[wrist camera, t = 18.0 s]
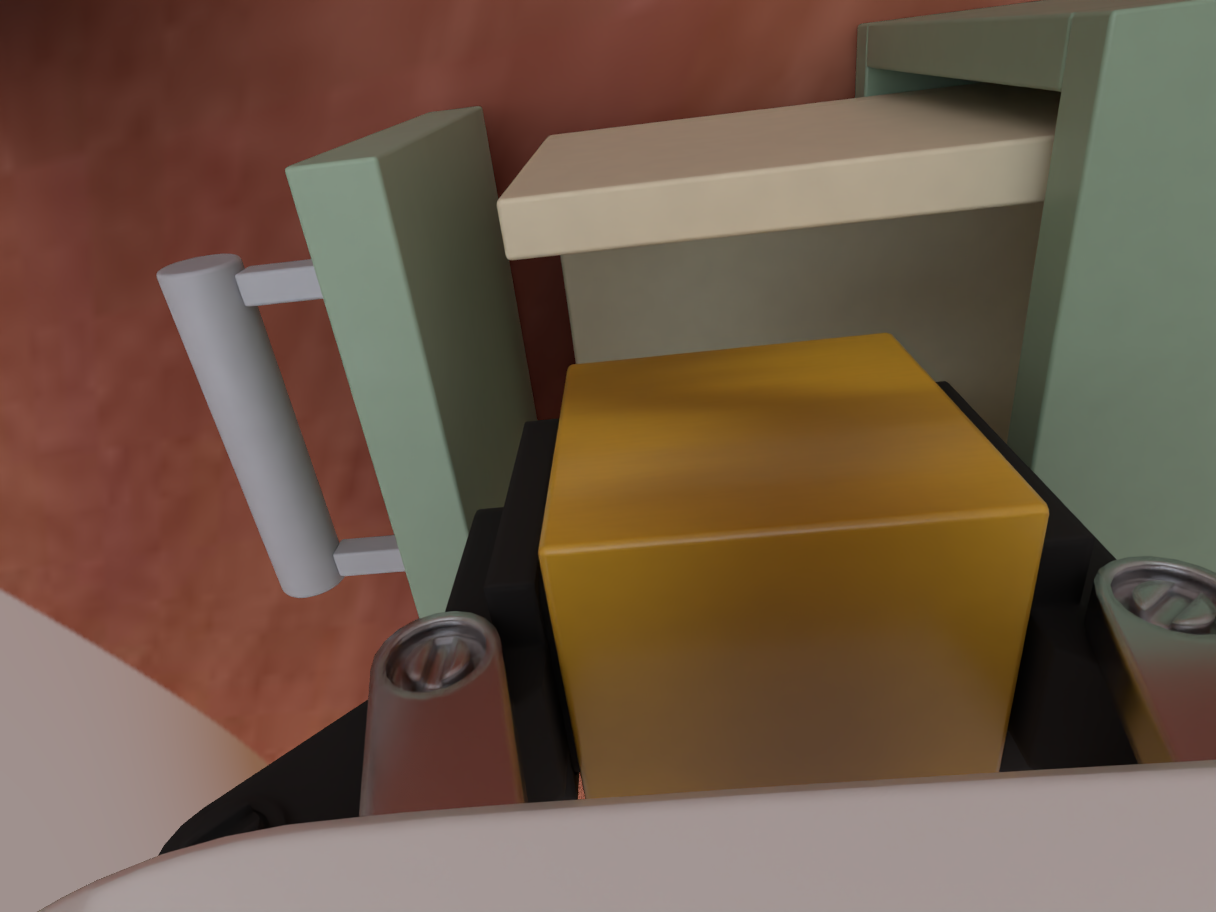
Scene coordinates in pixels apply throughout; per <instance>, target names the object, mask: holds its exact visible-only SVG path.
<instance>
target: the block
mask: <svg viewBox="0 0 1216 912" xmlns="http://www.w3.org/2000/svg"><path fill="white" fill-rule="evenodd" d="M1048 518H1049V509H1048V506H1047V504H1046V502H1045V501H1044V500H1043V499H1042V498H1041V497H1040V496H1039V495H1038V494H1037V493H1036V492H1035V490H1034V489H1033V488H1032V487H1031V486H1030V485H1029V484H1028V483H1027V482H1026V481H1025V480H1024V478H1023V477H1022V476H1021V475H1020V474H1019V473H1018V472H1017V471H1016V470H1015V469H1014V468H1013V466H1012V465H1011V464H1010V463H1009V462H1008V461H1007V460H1006V459H1005V458H1004V457H1003V456H1002V454H1001V453H1000V452H999V451H998V450H997V449H996V448H995V447H994V446H993V445H992V444H991V442H990V441H989V440H988V439H987V438H986V437H985V436H984V435H983V434H982V433H981V431H980V430H979V429H978V428H977V427H976V426H975V425H974V424H973V423H972V422H971V421H970V419H969V418H968V417H967V416H966V415H965V414H964V413H963V412H962V411H961V410H960V409H959V407H958V406H957V405H956V404H955V403H954V402H953V401H952V400H951V399H950V398H949V397H948V395H947V394H946V393H945V392H944V391H943V390H942V389H941V388H940V387H939V386H938V385H937V383H936V382H935V381H934V380H933V379H932V378H931V377H930V376H929V375H928V374H927V373H926V371H925V370H924V369H923V368H922V367H921V366H920V365H919V364H918V363H917V362H916V361H915V359H914V358H913V357H912V356H911V355H910V354H909V353H908V352H907V351H906V350H905V348H904V347H903V346H902V345H901V344H900V343H899V342H898V341H897V340H896V339H895V338H894V336H893V335H892V334H889V333H878V334H868V335H859V336H849V337H839V338H829V339H819V340H809V341H800V342H790V343H780V344H770V345H760V346H750V347H741V348H731V349H721V350H711V351H701V352H691V353H682V354H672V355H662V356H652V357H642V358H632V359H623V360H613V361H603V362H593V363H583V364H573V365H571V366H569V367H568V370H567V374H566V381H565V387H564V393H563V399H562V405H561V412H560V418H559V424H558V430H557V437H556V443H555V449H554V455H553V461H552V468H551V474H550V480H549V486H548V493H547V499H546V505H545V511H544V517H543V524H542V530H541V536H540V542H539V548H538V557H539V563H540V568H541V573H542V578H543V583H544V588H545V593H546V599H547V604H548V609H549V614H550V619H551V624H552V629H553V635H554V640H555V645H556V650H557V655H558V660H559V666H560V671H561V676H562V681H563V686H564V691H565V696H566V702H567V707H568V712H569V717H570V722H571V727H572V732H573V738H574V743H575V748H576V753H577V758H578V763H579V769H580V774H581V779H582V784H583V789H584V794H585V799H594V798H609V797H623V796H638V795H653V794H667V793H682V792H697V791H711V790H726V789H741V788H757V787H772V786H788V785H804V784H820V783H835V782H851V781H867V780H883V779H899V778H915V777H931V776H948V775H964V774H980V773H996V772H999V770H1000V764H1001V759H1002V754H1003V749H1004V744H1005V739H1006V734H1007V728H1008V723H1009V718H1010V713H1011V708H1012V703H1013V698H1014V693H1015V687H1016V682H1017V677H1018V672H1019V667H1020V662H1021V657H1022V651H1023V646H1024V641H1025V636H1026V631H1027V626H1028V621H1029V615H1030V610H1031V605H1032V600H1033V595H1034V590H1035V585H1036V579H1037V574H1038V569H1039V564H1040V559H1041V554H1042V549H1043V543H1044V538H1045V533H1046V528H1047V523H1048Z"/></svg>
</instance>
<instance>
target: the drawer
mask: <svg viewBox="0 0 1216 912" xmlns="http://www.w3.org/2000/svg"><path fill="white" fill-rule="evenodd" d="M1060 97H1061V92H1059V91H1051V90H1043V89H1035V88H1027V87H1019V86H1011V85H1003V84H995V83H987V82H983V83H975V84H967V85H959V86H950V87H942V88H934V89H926V90H917V91H909V92H901V93H893V94H885V95H876V96H868V97H860V98H852V99H844V100H835V101H827V102H819V103H811V104H803V105H794V106H786V107H778V108H770V109H761V110H753V111H745V112H737V113H729V114H720V115H712V116H704V117H696V118H688V119H679V120H671V121H663V122H655V123H646V124H638V125H630V126H622V127H614V128H605V129H597V130H589V131H581V132H573V133H564V134H556V135H550V136H548V137H547V139H546V140H545V141H544V142H543V143H542V144H541V146H540V147H539V148H538V149H537V151H536V152H535V153H534V155H533V156H532V157H531V158H530V160H529V161H528V162H527V164H526V165H525V166H524V167H523V169H522V170H521V171H520V172H519V174H518V175H517V176H516V178H515V179H514V180H513V181H512V183H511V184H510V185H509V186H508V188H507V189H506V190H505V192H504V193H503V194H502V195H501V197H500V198H499V199H498V195H497V189H496V183H495V178H494V172H493V166H492V161H491V155H490V149H489V144H488V138H487V132H486V127H485V121H484V115H483V110H482V107H480V106H476V107H468V108H460V109H452V110H444V111H436V112H429V113H426V114H424V115H421V116H418V117H416V118H413V119H410V120H408V121H405V122H403V123H400V124H397V125H395V126H392V127H390V128H387V129H384V130H382V131H379V132H377V133H374V134H371V135H369V136H366V137H363V138H361V139H358V140H356V141H353V142H350V143H348V144H345V145H343V146H340V147H337V148H335V149H332V150H330V151H327V152H324V153H322V154H319V155H317V156H314V157H311V158H309V159H306V160H303V161H301V162H298V163H296V164H293V165H290V166H288V167H287V168H286V169H285V173H286V176H287V180H288V183H289V186H290V189H291V193H292V196H293V199H294V203H295V206H296V209H297V213H298V216H299V219H300V223H301V226H302V229H303V233H304V236H305V239H306V243H307V246H308V249H309V253H310V256H311V259H309V260H301V261H292V262H283V263H274V264H265V265H256V266H249V267H247V268H246V269H245V268H244V265H243V262H242V259H241V258H240V257H239V256H238V255H235V254H214V255H207V256H201V257H196V258H191V259H187V260H183V261H180V262H177V263H174V264H171V265H168V266H166V267H164V268H162V269H161V270H159V271H158V272H157V279H158V282H159V284H160V287H161V289H162V292H163V294H164V297H165V299H166V302H167V304H168V307H169V309H170V312H171V314H172V317H173V319H174V322H175V324H176V327H177V329H178V331H179V334H180V336H181V339H182V341H183V344H184V346H185V349H186V351H187V354H188V356H189V359H190V361H191V364H192V366H193V369H194V371H195V374H196V376H197V379H198V381H199V384H200V386H201V389H202V391H203V394H204V396H205V398H206V401H207V403H208V406H209V408H210V411H211V413H212V416H213V418H214V421H215V423H216V426H217V428H218V431H219V433H220V436H221V438H222V441H223V443H224V446H225V448H226V451H227V453H228V456H229V458H230V461H231V463H232V465H233V468H234V470H235V473H236V475H237V478H238V480H239V483H240V485H241V488H242V490H243V493H244V495H245V498H246V500H247V503H248V505H249V508H250V510H251V513H252V515H253V518H254V520H255V523H256V525H257V528H258V530H259V533H260V535H261V537H262V540H263V542H264V545H265V547H266V550H267V552H268V555H269V557H270V560H271V562H272V565H273V567H274V570H275V572H276V575H277V577H278V580H279V582H280V585H281V587H282V589H283V591H284V592H285V593H286V594H287V595H289V596H291V597H296V598H306V597H312V596H316V595H319V594H322V593H324V592H326V591H328V590H330V589H332V588H333V587H335V586H336V585H337V584H339V583H340V582H341V581H342V580H343V578H344V577H345V576H353V575H365V574H378V573H390V572H402V571H405V572H406V575H407V578H408V582H409V585H410V588H411V592H412V595H413V598H414V602H415V605H416V608H417V612H418V615H419V618H423V617H426V616H429V615H432V614H435V613H442V612H445V610H446V607H447V603H448V600H449V597H450V594H451V590H452V587H453V584H454V580H455V577H456V574H457V571H458V567H459V564H460V561H461V558H462V554H463V551H464V548H465V545H466V541H467V538H468V535H469V531H470V528H471V525H472V522H473V518H474V516H475V513H476V511H477V510H479V509H487V508H498V507H504V504H505V500H506V496H507V492H508V488H509V484H510V480H511V476H512V472H513V468H514V464H515V460H516V456H517V452H518V448H519V444H520V440H521V436H522V432H523V428H524V424H525V422H527V421H537V415H536V410H535V404H534V398H533V393H532V387H531V381H530V376H529V370H528V364H527V359H526V353H525V347H524V342H523V336H522V330H521V325H520V319H519V313H518V308H517V302H516V296H515V291H514V285H513V279H512V274H511V268H510V262H509V260H521V259H530V258H539V257H548V256H557V255H560V257H561V264H562V271H563V278H564V285H565V292H566V298H567V305H568V312H569V319H570V326H571V333H572V340H573V347H574V354H575V361H576V364H583V363H593V362H603V361H613V360H623V359H632V358H642V357H652V356H662V355H672V354H682V353H691V352H701V351H711V350H721V349H731V348H741V347H750V346H760V345H770V344H780V343H790V342H800V341H809V340H819V339H829V338H839V337H849V336H859V335H868V334H878V333H889V334H892V335H893V336H894V338H895V339H896V340H897V341H898V342H899V343H900V344H901V345H902V346H903V347H904V348H905V350H906V351H907V352H908V353H909V354H910V355H911V356H912V357H913V358H914V359H915V361H916V362H917V363H918V364H919V365H920V366H921V367H922V368H923V369H924V370H925V371H926V373H927V374H928V375H929V376H930V377H931V378H932V379H933V380H934V381H935V382H940V381H946V382H948V383H949V384H950V385H951V386H952V387H953V388H954V389H955V390H956V391H957V392H958V393H959V394H960V395H961V397H962V398H963V399H964V400H965V401H966V402H967V403H968V404H969V405H970V406H971V407H972V408H973V409H974V410H975V411H976V412H977V413H978V414H979V416H980V417H981V418H982V419H983V420H984V421H985V422H986V423H987V424H988V425H989V426H990V427H991V428H992V429H993V430H994V431H995V432H996V433H997V435H998V436H999V437H1000V438H1001V439H1002V440H1003V441H1004V442H1005V443H1006V444H1007V439H1008V432H1009V426H1010V419H1011V413H1012V407H1013V400H1014V394H1015V387H1016V381H1017V374H1018V368H1019V361H1020V355H1021V348H1022V342H1023V336H1024V329H1025V323H1026V316H1027V310H1028V303H1029V297H1030V290H1031V284H1032V277H1033V271H1034V265H1035V258H1036V252H1037V245H1038V239H1039V232H1040V226H1041V219H1042V213H1043V206H1044V200H1045V194H1046V187H1047V181H1048V174H1049V168H1050V161H1051V155H1052V148H1053V142H1054V135H1055V129H1056V123H1057V116H1058V110H1059V103H1060ZM315 299H324V302H325V306H326V309H327V312H328V316H329V319H330V322H331V326H332V329H333V332H334V336H335V339H336V342H337V346H338V349H339V352H340V356H341V359H342V362H343V366H344V369H345V372H346V376H347V379H348V382H349V386H350V389H351V392H352V396H353V399H354V402H355V406H356V409H357V412H358V415H359V419H360V422H361V425H362V429H363V432H364V435H365V439H366V442H367V445H368V449H369V452H370V455H371V459H372V462H373V465H374V469H375V472H376V475H377V479H378V482H379V485H380V489H381V492H382V495H383V499H384V502H385V505H386V509H387V512H388V515H389V519H390V522H391V525H392V528H393V532H394V535H390V536H378V537H366V538H354V539H343V540H341V542H340V543H339V540H338V537H337V535H336V532H335V529H334V526H333V523H332V520H331V517H330V514H329V511H328V509H327V506H326V503H325V500H324V497H323V494H322V491H321V488H320V485H319V482H318V480H317V477H316V474H315V471H314V468H313V465H312V462H311V459H310V456H309V453H308V451H307V448H306V445H305V442H304V439H303V436H302V433H301V430H300V427H299V424H298V422H297V419H296V416H295V413H294V410H293V407H292V404H291V401H290V398H289V395H288V393H287V390H286V387H285V384H284V381H283V378H282V375H281V372H280V369H279V366H278V364H277V361H276V358H275V355H274V352H273V349H272V346H271V343H270V340H269V337H268V335H267V332H266V329H265V326H264V323H263V320H262V317H261V314H260V311H259V308H258V306H260V305H269V304H278V303H287V302H297V301H306V300H315Z"/></svg>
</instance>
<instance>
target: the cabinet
mask: <svg viewBox="0 0 1216 912" xmlns="http://www.w3.org/2000/svg"><path fill="white" fill-rule="evenodd" d="M983 82H987V83H995V84H1003V85H1011V86H1019V87H1027V88H1035V89H1043V90H1051V91H1059V92H1061V97H1060V103H1059V110H1058V116H1057V123H1056V129H1055V135H1054V142H1053V148H1052V155H1051V161H1050V168H1049V174H1048V181H1047V187H1046V194H1045V200H1044V206H1043V213H1042V219H1041V226H1040V232H1039V239H1038V245H1037V252H1036V258H1035V265H1034V271H1033V277H1032V284H1031V290H1030V297H1029V303H1028V310H1027V316H1026V323H1025V329H1024V336H1023V342H1022V348H1021V355H1020V361H1019V368H1018V374H1017V381H1016V387H1015V394H1014V400H1013V407H1012V413H1011V419H1010V426H1009V432H1008V439H1007V445H1008V446H1009V447H1010V448H1011V449H1012V450H1013V451H1014V452H1015V454H1016V455H1017V456H1018V457H1019V458H1020V459H1021V460H1022V461H1023V462H1024V463H1025V464H1026V465H1027V466H1028V467H1029V468H1030V469H1031V470H1032V471H1033V472H1034V473H1035V474H1036V475H1037V476H1038V477H1039V478H1040V479H1041V480H1042V481H1043V482H1044V484H1045V485H1046V486H1047V487H1048V488H1049V489H1050V490H1051V491H1052V492H1053V493H1054V494H1055V495H1056V496H1057V497H1058V498H1059V499H1060V500H1061V501H1062V502H1063V504H1064V505H1065V506H1066V507H1067V508H1068V509H1069V510H1070V511H1071V512H1072V513H1073V514H1074V515H1075V516H1076V517H1077V518H1078V519H1079V520H1080V521H1081V523H1082V524H1083V525H1084V526H1085V527H1086V528H1087V529H1088V530H1089V531H1090V532H1091V533H1092V534H1093V535H1094V536H1095V537H1096V538H1097V539H1098V540H1099V541H1100V543H1101V544H1102V545H1103V546H1104V547H1105V548H1106V549H1107V550H1108V551H1109V552H1110V553H1111V554H1112V555H1113V556H1114V557H1115V558H1116V559H1117V560H1118V559H1122V558H1126V557H1138V556H1154V557H1162V558H1170V559H1176V560H1180V561H1184V562H1187V563H1191V564H1195V565H1198V566H1201V567H1204V568H1206V569H1208V570H1211V571H1213V572H1215V573H1216V0H1042V1H1034V2H1026V3H1018V4H1011V5H1003V6H995V7H987V8H980V9H972V10H964V11H956V12H949V13H941V14H933V15H925V16H917V17H910V18H902V19H894V20H886V21H879V22H871V23H863V24H860V25H859V26H858V33H857V59H856V86H855V98H860V97H868V96H876V95H885V94H893V93H901V92H909V91H917V90H926V89H934V88H942V87H950V86H959V85H967V84H975V83H983Z"/></svg>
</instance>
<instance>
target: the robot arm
mask: <svg viewBox="0 0 1216 912" xmlns="http://www.w3.org/2000/svg"><path fill="white" fill-rule="evenodd" d="M936 383H937V385H938V386H939V387H940V388H941V389H942V390H943V391H944V392H945V393H946V394H947V395H948V397H949V398H950V399H951V400H952V401H953V402H954V403H955V404H956V405H957V406H958V407H959V409H960V410H961V411H962V412H963V413H964V414H965V415H966V416H967V417H968V418H969V419H970V421H971V422H972V423H973V424H974V425H975V426H976V427H977V428H978V429H979V430H980V431H981V433H982V434H983V435H984V436H985V437H986V438H987V439H988V440H989V441H990V442H991V444H992V445H993V446H994V447H995V448H996V449H997V450H998V451H999V452H1000V453H1001V454H1002V456H1003V457H1004V458H1005V459H1006V460H1007V461H1008V462H1009V463H1010V464H1011V465H1012V466H1013V468H1014V469H1015V470H1016V471H1017V472H1018V473H1019V474H1020V475H1021V476H1022V477H1023V478H1024V480H1025V481H1026V482H1027V483H1028V484H1029V485H1030V486H1031V487H1032V488H1033V489H1034V490H1035V492H1036V493H1037V494H1038V495H1039V496H1040V497H1041V498H1042V499H1043V500H1044V501H1045V502H1046V504H1047V506H1048V509H1049V518H1048V523H1047V528H1046V533H1045V538H1044V543H1043V549H1042V554H1041V559H1040V564H1039V569H1038V574H1037V579H1036V585H1035V590H1034V595H1033V600H1032V605H1031V610H1030V615H1029V621H1028V626H1027V631H1026V636H1025V641H1024V646H1023V651H1022V657H1021V662H1020V667H1019V672H1018V677H1017V682H1016V687H1015V693H1014V698H1013V703H1012V708H1011V713H1010V718H1009V723H1008V728H1007V734H1006V739H1005V744H1004V749H1003V754H1002V759H1001V764H1000V770H999V772H996V773H980V774H964V775H948V776H931V777H915V778H899V779H883V780H867V781H851V782H835V783H820V784H804V785H788V786H772V787H757V788H741V789H726V790H711V791H697V792H682V793H667V794H653V795H638V796H623V797H609V798H594V799H580V800H578V785H579V772H580V769H579V763H578V758H577V753H576V748H575V743H574V738H573V732H572V727H571V722H570V717H569V712H568V707H567V702H566V696H565V691H564V686H563V681H562V676H561V671H560V666H559V660H558V655H557V650H556V645H555V640H554V635H553V629H552V624H551V619H550V614H549V609H548V604H547V599H546V593H545V588H544V583H543V578H542V573H541V568H540V563H539V557H538V548H539V542H540V536H541V530H542V524H543V517H544V511H545V505H546V499H547V493H548V486H549V480H550V474H551V468H552V461H553V455H554V449H555V443H556V437H557V430H558V424H559V418H558V419H548V420H537V421H527V422H525V424H524V428H523V432H522V436H521V440H520V444H519V448H518V452H517V456H516V460H515V464H514V468H513V472H512V476H511V480H510V484H509V488H508V492H507V496H506V500H505V504H504V507H498V508H487V509H479V510H477V511H476V513H475V516H474V518H473V522H472V525H471V528H470V531H469V535H468V538H467V541H466V545H465V548H464V551H463V554H462V558H461V561H460V564H459V567H458V571H457V574H456V577H455V580H454V584H453V587H452V590H451V594H450V597H449V600H448V603H447V607H446V610H445V612H442V613H435V614H432V615H429V616H426V617H423V618H420V619H417V620H415V621H413V622H411V623H409V624H407V625H406V626H404V627H402V628H400V629H399V630H397V631H396V632H395V633H394V634H393V635H391V636H390V637H389V638H388V639H387V640H386V641H385V642H384V643H383V644H382V646H381V647H380V649H379V650H378V651H377V653H376V654H375V656H374V660H373V663H372V666H371V671H370V683H369V696H368V700H367V701H365V702H364V703H362V704H361V705H359V706H358V707H356V708H355V709H353V710H352V711H350V712H348V713H347V714H345V715H344V716H342V717H341V718H339V719H338V720H336V721H335V722H333V723H332V724H330V725H329V726H327V727H326V728H324V729H323V730H321V731H320V732H318V733H317V734H315V735H314V736H312V737H311V738H309V739H308V740H306V741H304V742H303V743H301V744H300V745H298V746H297V747H295V748H294V749H292V750H291V751H289V752H288V753H286V754H285V755H283V756H282V757H280V758H279V759H277V760H276V761H274V762H273V763H271V764H270V765H268V766H267V767H265V768H264V769H262V770H261V771H259V772H258V773H256V774H254V775H253V776H252V777H250V778H248V779H247V780H245V781H244V782H242V783H241V784H239V785H238V786H236V787H235V788H233V789H232V790H230V791H229V792H227V793H226V794H224V795H223V796H221V797H220V798H218V799H217V800H215V801H214V802H212V803H211V804H209V805H207V806H206V807H204V808H203V809H202V810H200V811H199V812H198V813H197V814H195V815H194V816H193V817H192V818H190V819H189V820H188V821H187V822H185V823H184V824H183V825H182V826H181V827H180V828H179V829H178V830H177V831H176V832H175V834H174V835H173V836H172V837H171V838H170V839H169V840H168V842H167V843H166V844H165V845H164V847H163V848H162V850H161V852H160V854H159V855H158V856H157V857H154V858H152V859H149V860H146V861H144V862H142V863H139V864H137V865H134V866H131V867H129V868H126V869H124V870H121V871H119V872H116V873H114V874H111V875H109V876H106V877H104V878H101V879H99V880H96V881H94V882H93V883H90V884H88V885H86V886H84V887H82V888H80V889H78V890H76V891H74V892H72V893H70V894H68V895H66V896H65V897H62V898H61V899H59V900H57V901H55V902H54V903H52V904H50V905H48V906H46V907H45V908H43V909H41V910H39V911H38V912H1216V573H1215V572H1213V571H1211V570H1208V569H1206V568H1204V567H1201V566H1198V565H1195V564H1191V563H1187V562H1184V561H1180V560H1176V559H1170V558H1162V557H1154V556H1138V557H1126V558H1122V559H1118V560H1117V559H1116V558H1115V557H1114V556H1113V555H1112V554H1111V553H1110V552H1109V551H1108V550H1107V549H1106V548H1105V547H1104V546H1103V545H1102V544H1101V543H1100V541H1099V540H1098V539H1097V538H1096V537H1095V536H1094V535H1093V534H1092V533H1091V532H1090V531H1089V530H1088V529H1087V528H1086V527H1085V526H1084V525H1083V524H1082V523H1081V521H1080V520H1079V519H1078V518H1077V517H1076V516H1075V515H1074V514H1073V513H1072V512H1071V511H1070V510H1069V509H1068V508H1067V507H1066V506H1065V505H1064V504H1063V502H1062V501H1061V500H1060V499H1059V498H1058V497H1057V496H1056V495H1055V494H1054V493H1053V492H1052V491H1051V490H1050V489H1049V488H1048V487H1047V486H1046V485H1045V484H1044V482H1043V481H1042V480H1041V479H1040V478H1039V477H1038V476H1037V475H1036V474H1035V473H1034V472H1033V471H1032V470H1031V469H1030V468H1029V467H1028V466H1027V465H1026V464H1025V463H1024V462H1023V461H1022V460H1021V459H1020V458H1019V457H1018V456H1017V455H1016V454H1015V452H1014V451H1013V450H1012V449H1011V448H1010V447H1009V446H1008V445H1007V444H1006V443H1005V442H1004V441H1003V440H1002V439H1001V438H1000V437H999V436H998V435H997V433H996V432H995V431H994V430H993V429H992V428H991V427H990V426H989V425H988V424H987V423H986V422H985V421H984V420H983V419H982V418H981V417H980V416H979V414H978V413H977V412H976V411H975V410H974V409H973V408H972V407H971V406H970V405H969V404H968V403H967V402H966V401H965V400H964V399H963V398H962V397H961V395H960V394H959V393H958V392H957V391H956V390H955V389H954V388H953V387H952V386H951V385H950V384H949V383H948V382H946V381H940V382H936Z"/></svg>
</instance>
